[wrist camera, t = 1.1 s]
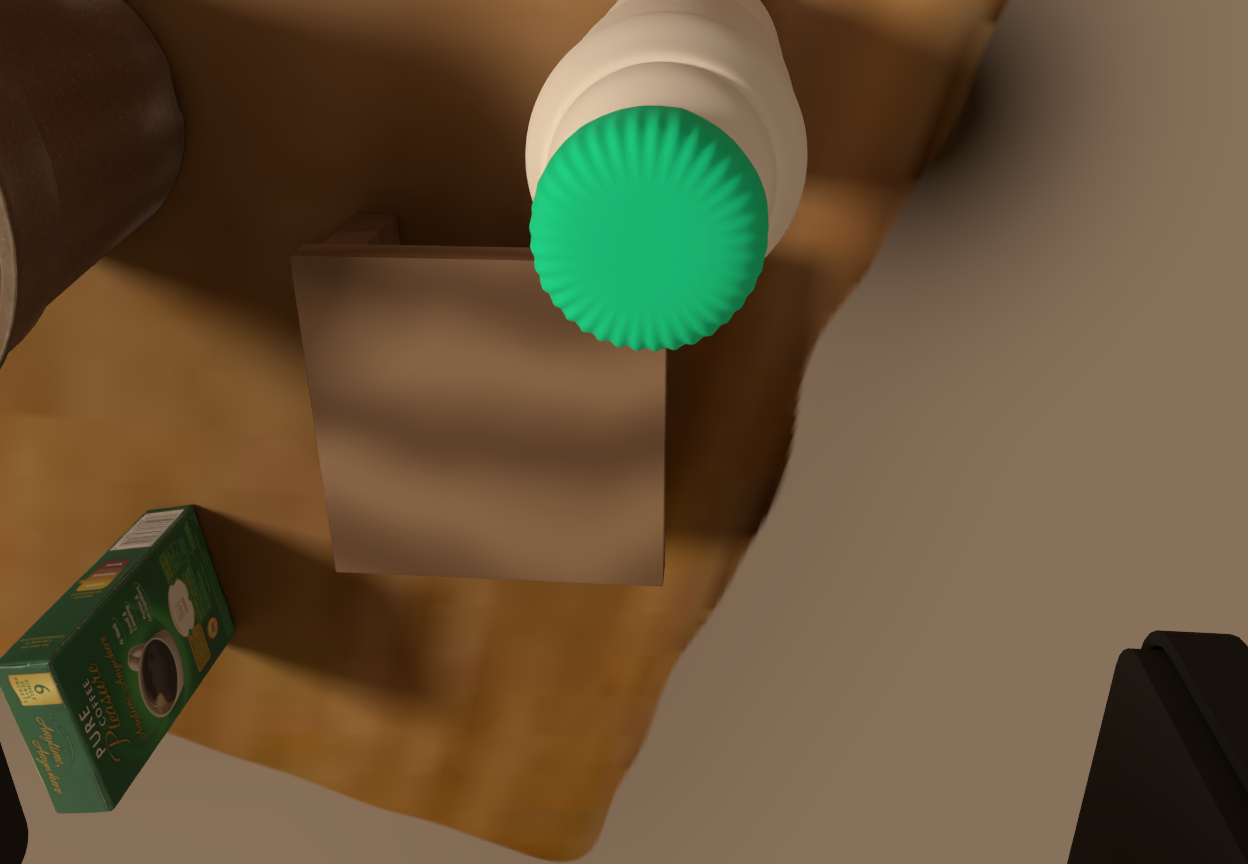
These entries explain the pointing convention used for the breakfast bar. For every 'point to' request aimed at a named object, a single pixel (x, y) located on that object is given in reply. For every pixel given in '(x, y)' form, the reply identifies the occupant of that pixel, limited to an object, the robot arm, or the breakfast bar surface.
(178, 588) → the coffee box
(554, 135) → the water bottle
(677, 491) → the breakfast bar surface
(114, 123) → the plant pot
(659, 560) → the small square stand
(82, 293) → the breakfast bar surface
